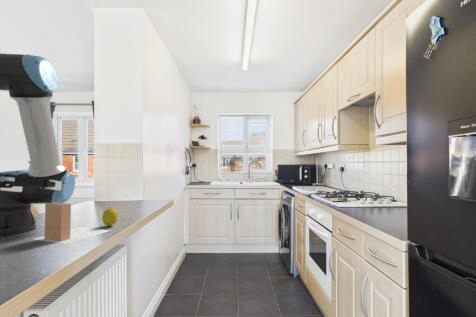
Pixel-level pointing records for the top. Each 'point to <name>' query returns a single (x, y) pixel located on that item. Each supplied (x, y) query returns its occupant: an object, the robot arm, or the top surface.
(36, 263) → the top surface
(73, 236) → the mat
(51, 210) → the block
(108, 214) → the lemon
